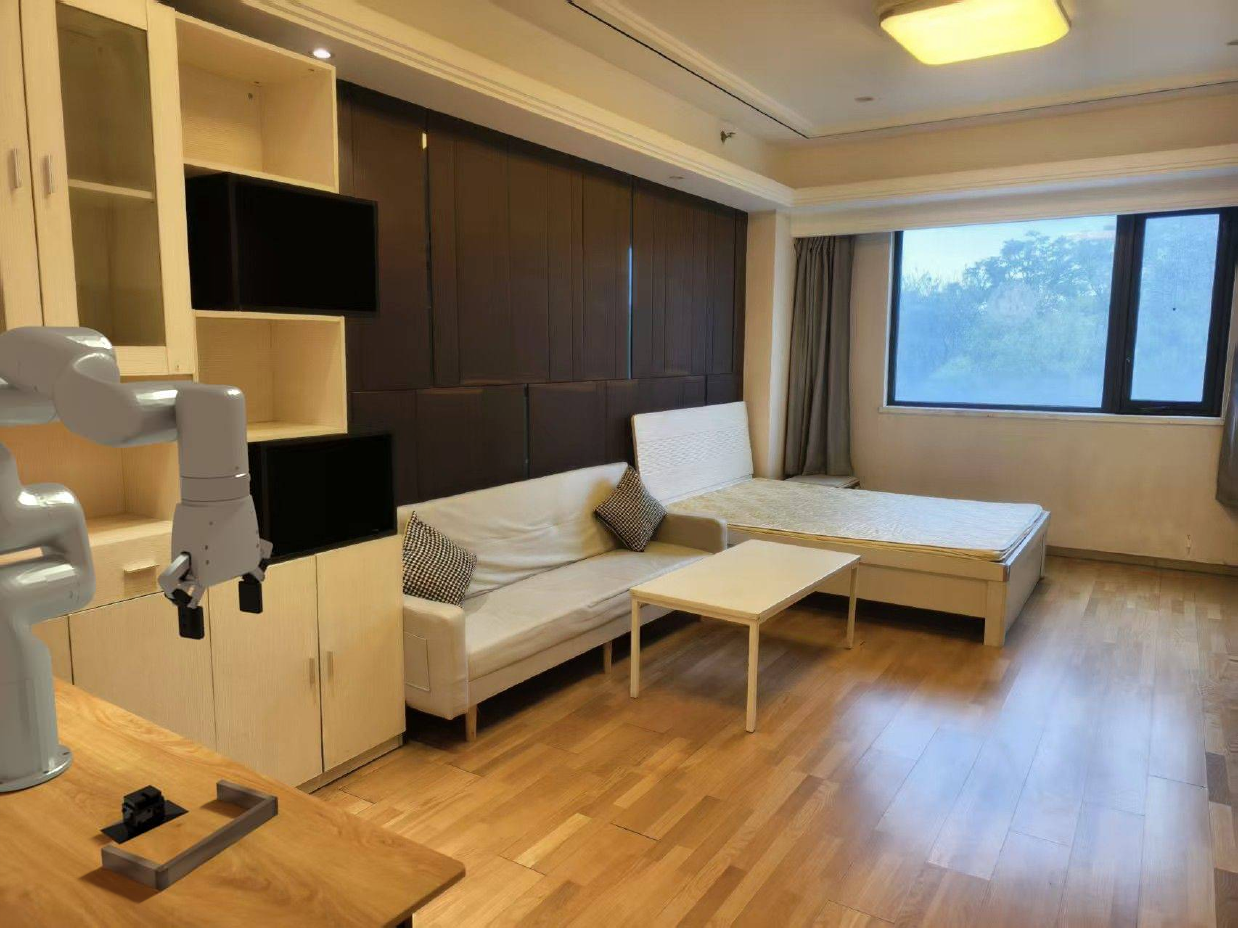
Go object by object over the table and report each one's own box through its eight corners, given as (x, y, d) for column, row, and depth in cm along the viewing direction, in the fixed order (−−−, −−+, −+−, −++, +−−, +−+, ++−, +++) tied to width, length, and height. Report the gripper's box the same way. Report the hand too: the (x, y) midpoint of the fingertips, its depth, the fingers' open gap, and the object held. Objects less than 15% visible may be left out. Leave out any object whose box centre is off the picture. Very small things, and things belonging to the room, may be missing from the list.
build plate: (110, 858, 107) (106, 824, 106) (82, 838, 111) (78, 806, 110) (203, 812, 117) (201, 781, 117) (174, 795, 121) (172, 765, 121)
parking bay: (102, 867, 104) (100, 848, 104) (222, 795, 121) (222, 779, 120) (161, 891, 100) (160, 871, 100) (278, 813, 116) (277, 796, 116)
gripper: (242, 474, 111) (248, 600, 113) (129, 498, 94) (140, 644, 97) (290, 479, 108) (295, 606, 111) (183, 504, 92) (192, 653, 95)
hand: (223, 624), depth 104 cm, fingers open, 9 cm apart
